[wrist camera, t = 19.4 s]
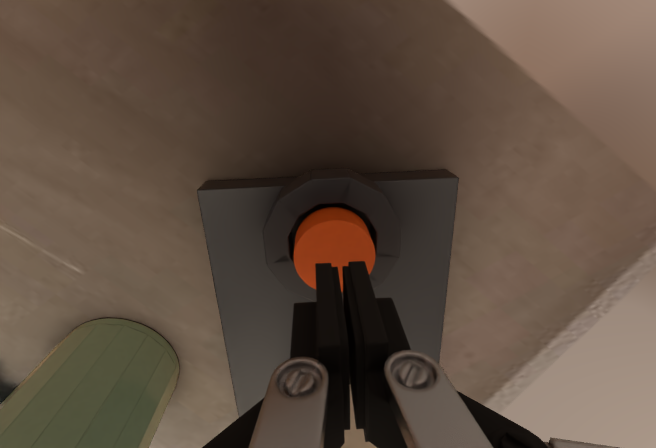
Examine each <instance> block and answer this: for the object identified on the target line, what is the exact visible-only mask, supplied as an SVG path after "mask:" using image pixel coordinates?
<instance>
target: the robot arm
mask: <svg viewBox="0 0 656 448" xmlns="http://www.w3.org/2000/svg"><path fill="white" fill-rule="evenodd" d="M315 267H316V302H303V303H294V308H293V322H292V337H291V351H290V359H288V360H286V361H284V362H283V363H281V364H280V365H279V366H278V367H277V368H276V369H275V370H274V372H273V374H272V376H271V378H270V381H269V385H268V388H267V391H266V394H265V397H264V398H263V399H262V400H261V401H259V402H258V403H257V404H256V405H254V406H253V407H252V408H251V409H249V410H248V411H247V412H246V413H244V414H243V415H242V416H241V417H240V418H238V419H237V420H236V421H235V422H233V423H232V424H231V425H230V426H228V427H227V428H226V429H225V430H223V431H222V432H221V433H220V434H218V435H217V436H216V437H215V438H214V439H212V440H211V441H210V442H209V443H207V444H206V445H205V446H204V447H202V448H341V447H342V446H343V444H344V443H345V436H344V430H350V385H351V393H352V401H353V408H354V416H355V424H356V429H363V430H364V437H365V442H370V443H372V444H373V445H374V446H376V447H377V448H618V447H611V446H604V445H597V444H591V443H584V442H577V441H570V440H563V439H557V438H550V440H549V443H548V442H543V441H542V440H541V439H540V438H539V437H537V436H536V435H534V434H533V433H531V432H530V431H529V430H527V429H525V428H523V427H521V426H520V425H518V424H516V423H514V422H512V421H511V420H508V419H507V418H505V417H503V416H501V415H500V414H498V413H496V412H494V411H492V410H491V409H489V408H487V407H485V406H483V405H482V404H480V403H478V402H476V401H474V400H473V399H471V398H469V397H467V396H465V395H464V394H462V393H460V392H458V391H456V389H455V388H454V386H453V385H452V383H451V382H450V380H449V379H448V377H447V376H446V374H445V373H444V371H443V369H442V368H441V366H440V365H439V364H438V363H437V362H436V361H435V359H433V358H432V357H430V356H429V355H427V354H425V353H422V352H420V351H414V350H411V348H410V345H409V343H408V340H407V337H406V334H405V332H404V329H403V326H402V324H401V321H400V318H399V315H398V313H397V310H396V307H395V304H394V302H393V299H392V298H391V297H388V298H375V294H374V291H373V287H372V284H371V281H370V277H369V274H368V270H367V267H366V263H365V261H352V262H348V266H343V268H342V271H343V300H342V293H341V286H340V279H339V272H338V266H337V267H332V265H331V263H315Z"/></svg>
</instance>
